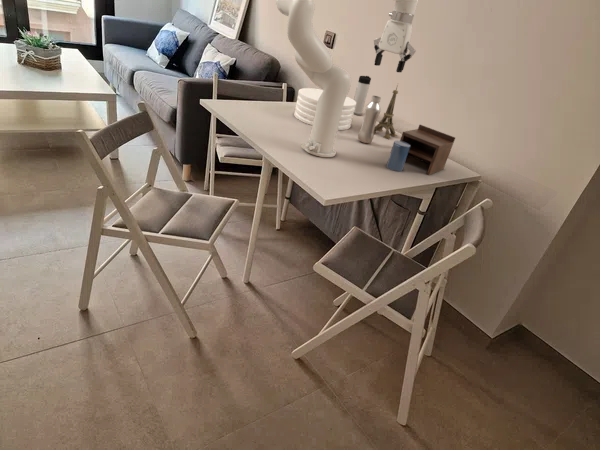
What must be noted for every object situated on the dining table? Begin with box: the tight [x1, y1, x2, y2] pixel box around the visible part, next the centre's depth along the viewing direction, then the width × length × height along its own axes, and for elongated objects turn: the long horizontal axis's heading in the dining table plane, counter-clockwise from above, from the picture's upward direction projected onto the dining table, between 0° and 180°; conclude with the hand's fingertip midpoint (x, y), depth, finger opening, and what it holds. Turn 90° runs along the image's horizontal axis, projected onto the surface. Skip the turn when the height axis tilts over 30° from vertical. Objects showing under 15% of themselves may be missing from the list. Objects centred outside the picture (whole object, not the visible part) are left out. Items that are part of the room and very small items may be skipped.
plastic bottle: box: [357, 95, 382, 144], centre depth 180 cm, size 6×7×20 cm
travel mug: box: [353, 75, 372, 116], centre depth 225 cm, size 6×7×20 cm
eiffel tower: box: [374, 84, 399, 140], centre depth 198 cm, size 11×11×25 cm
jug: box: [386, 140, 411, 172], centre depth 161 cm, size 10×6×10 cm, turn 138°
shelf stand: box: [399, 124, 456, 176], centre depth 169 cm, size 14×16×14 cm
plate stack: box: [293, 87, 356, 131], centre depth 201 cm, size 28×28×12 cm
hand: (387, 68), depth 157 cm, fingers open, 9 cm apart
